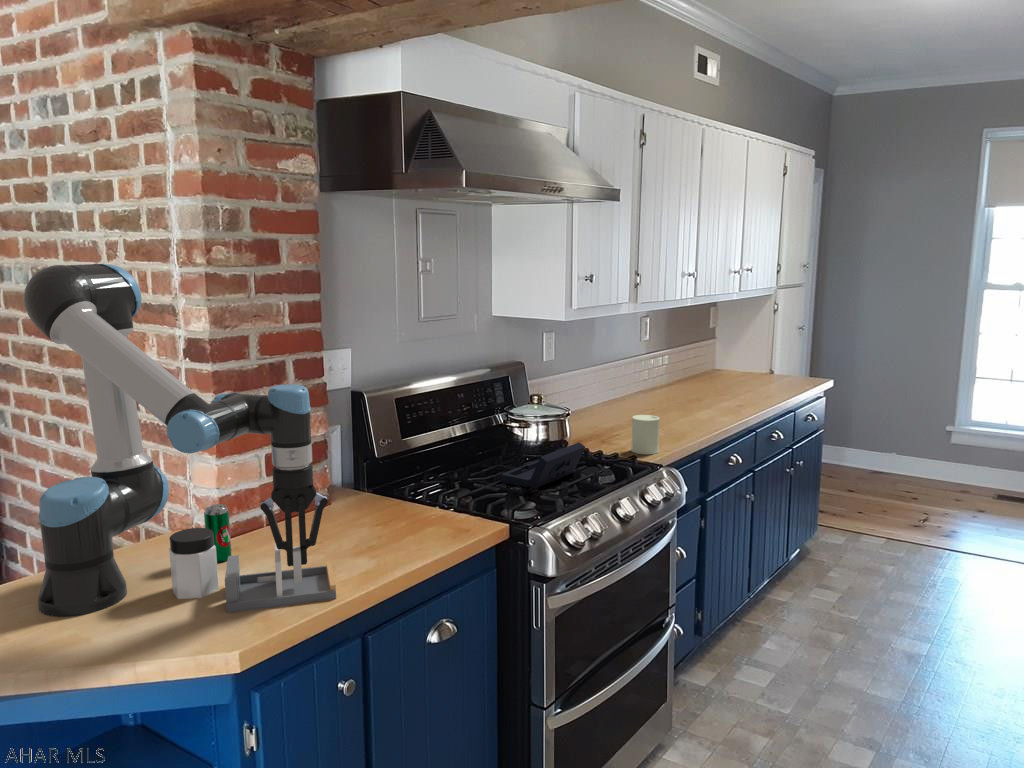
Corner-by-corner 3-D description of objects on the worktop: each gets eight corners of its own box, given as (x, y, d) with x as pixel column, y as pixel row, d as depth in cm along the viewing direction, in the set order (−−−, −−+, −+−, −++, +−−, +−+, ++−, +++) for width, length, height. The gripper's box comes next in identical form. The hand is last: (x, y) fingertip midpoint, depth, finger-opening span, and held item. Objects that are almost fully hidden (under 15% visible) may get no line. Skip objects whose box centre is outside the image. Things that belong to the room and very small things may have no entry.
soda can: (206, 557, 175) (203, 505, 173) (230, 553, 177) (227, 502, 175) (207, 565, 171) (204, 512, 169) (232, 561, 173) (229, 509, 170)
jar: (224, 581, 162) (220, 526, 160) (213, 599, 154) (209, 541, 152) (179, 583, 161) (174, 528, 159) (166, 601, 153) (161, 542, 151)
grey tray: (226, 615, 147) (224, 581, 146) (230, 587, 160) (228, 555, 158) (336, 602, 153) (335, 568, 152) (331, 575, 165) (330, 544, 164)
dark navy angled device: (540, 466, 248) (540, 435, 246) (585, 475, 238) (585, 443, 237) (500, 482, 231) (500, 449, 230) (546, 492, 222) (546, 458, 220)
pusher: (257, 604, 149) (255, 564, 148) (258, 580, 160) (256, 543, 159) (282, 601, 151) (280, 562, 149) (282, 578, 162) (280, 541, 160)
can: (661, 454, 261) (662, 419, 259) (633, 454, 261) (633, 419, 259) (656, 447, 270) (657, 413, 268) (629, 447, 270) (630, 413, 268)
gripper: (256, 473, 147) (263, 592, 151) (328, 467, 151) (333, 583, 155) (257, 462, 154) (263, 576, 158) (325, 457, 158) (330, 569, 162)
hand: (298, 580), depth 157 cm, fingers closed
